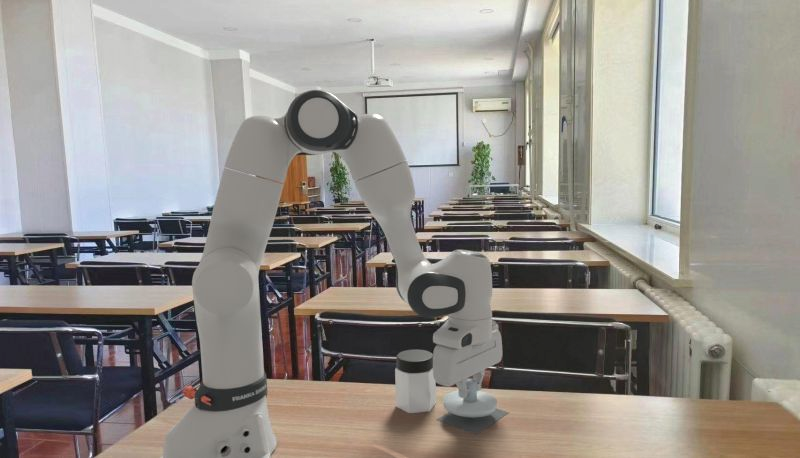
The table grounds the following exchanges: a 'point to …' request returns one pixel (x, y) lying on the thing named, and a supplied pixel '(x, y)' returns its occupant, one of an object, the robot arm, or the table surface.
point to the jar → (415, 381)
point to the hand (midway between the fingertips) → (469, 393)
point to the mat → (472, 421)
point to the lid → (470, 402)
